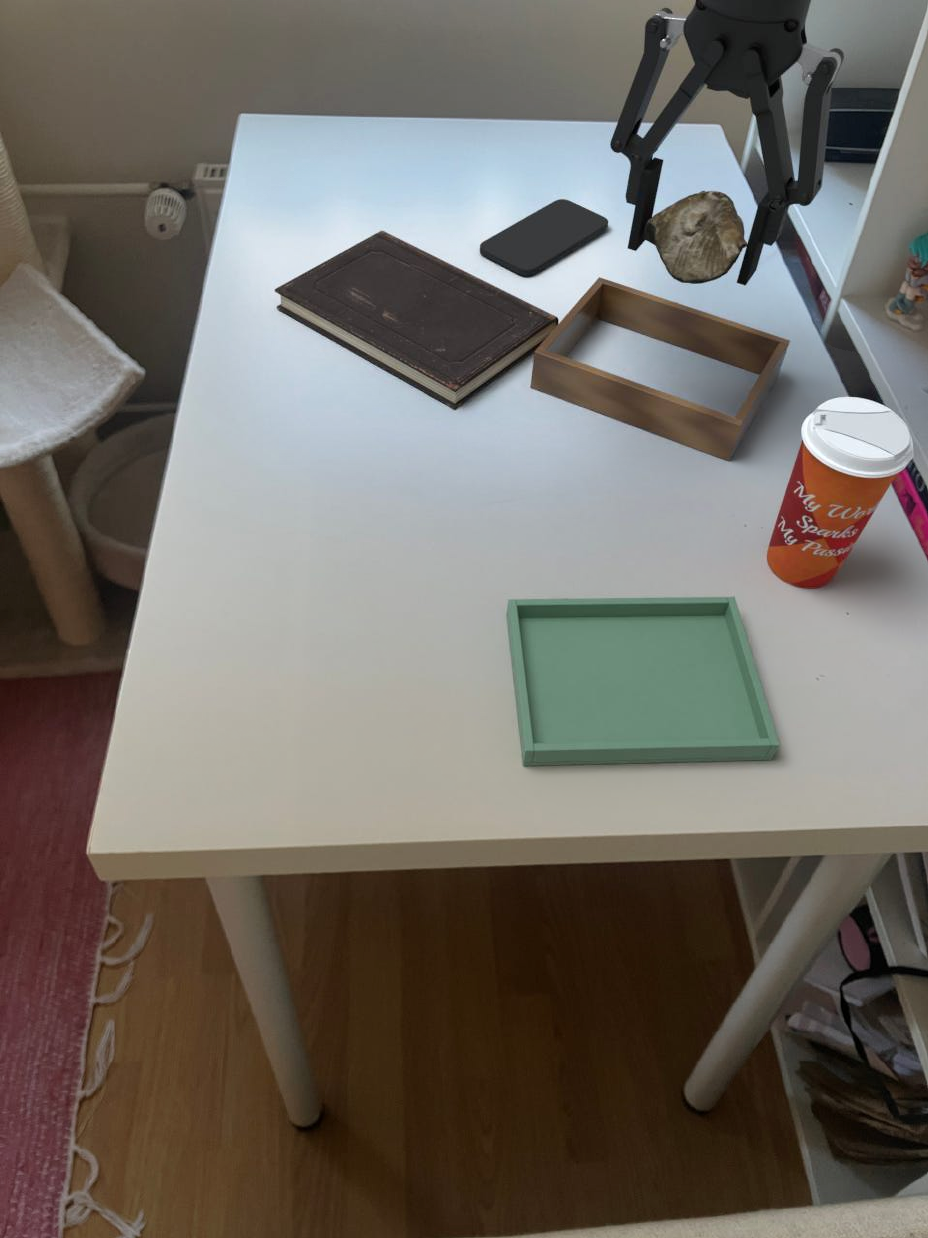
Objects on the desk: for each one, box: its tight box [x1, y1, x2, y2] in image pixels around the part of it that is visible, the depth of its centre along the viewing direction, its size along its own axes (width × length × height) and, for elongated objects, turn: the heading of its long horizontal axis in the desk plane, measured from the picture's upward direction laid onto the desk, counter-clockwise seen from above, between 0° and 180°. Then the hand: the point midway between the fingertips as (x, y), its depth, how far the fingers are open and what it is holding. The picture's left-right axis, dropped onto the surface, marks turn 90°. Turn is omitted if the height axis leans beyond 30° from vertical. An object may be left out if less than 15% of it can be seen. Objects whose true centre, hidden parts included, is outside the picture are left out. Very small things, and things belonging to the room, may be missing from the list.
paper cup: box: [766, 396, 914, 589], centre depth 75 cm, size 8×8×14 cm
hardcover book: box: [274, 230, 560, 410], centre depth 99 cm, size 16×23×2 cm
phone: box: [479, 198, 609, 277], centre depth 110 cm, size 7×1×15 cm
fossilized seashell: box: [643, 190, 748, 285], centre depth 80 cm, size 8×7×10 cm
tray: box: [505, 596, 781, 767], centre depth 71 cm, size 17×13×2 cm
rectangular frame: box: [529, 276, 791, 462], centre depth 94 cm, size 20×15×4 cm
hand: (691, 258), depth 82 cm, fingers closed on fossilized seashell, 9 cm apart
